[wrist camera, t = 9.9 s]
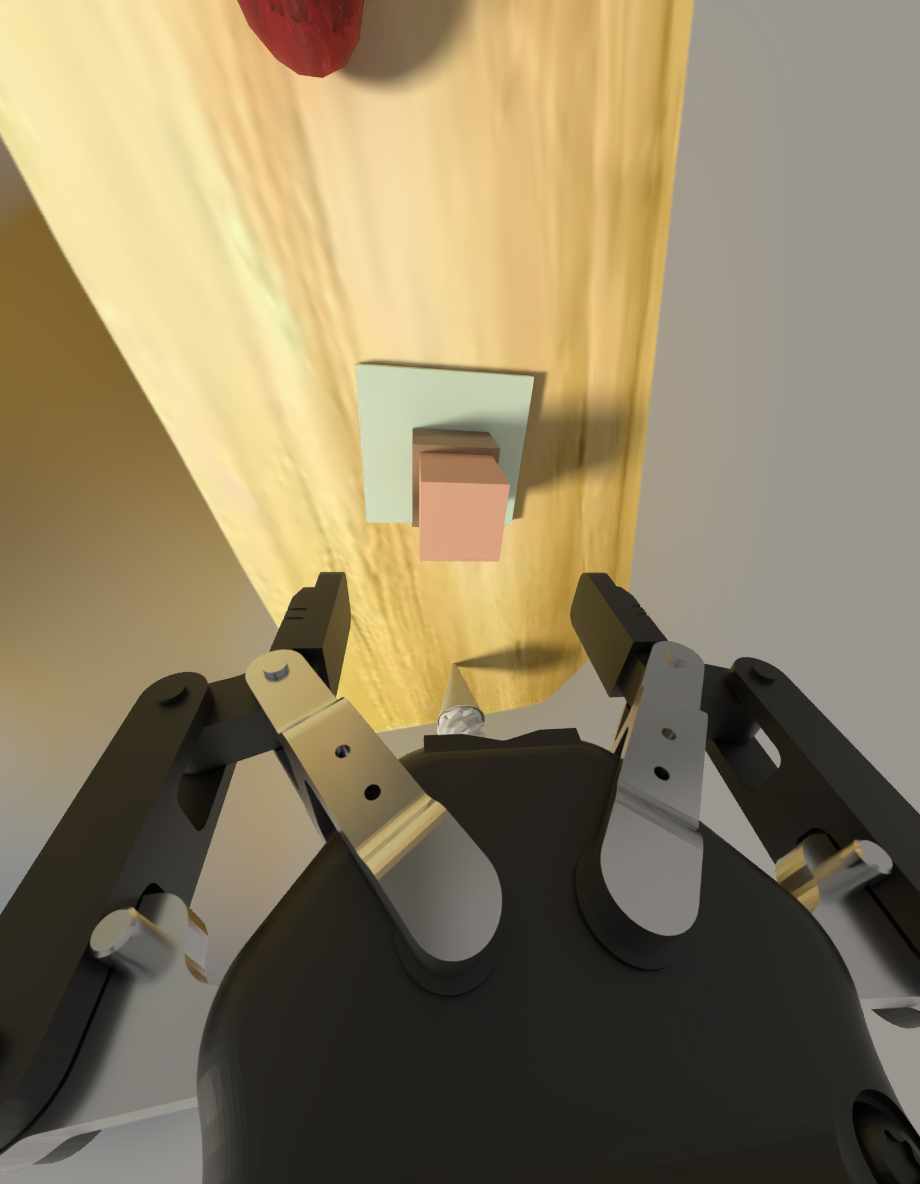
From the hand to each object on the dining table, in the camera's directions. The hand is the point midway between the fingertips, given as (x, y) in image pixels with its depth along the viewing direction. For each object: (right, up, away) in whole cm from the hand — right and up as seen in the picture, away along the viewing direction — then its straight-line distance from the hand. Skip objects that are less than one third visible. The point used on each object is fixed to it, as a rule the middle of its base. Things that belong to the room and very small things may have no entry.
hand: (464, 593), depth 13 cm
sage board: (-2, +12, +19) cm, 22 cm away
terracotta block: (-1, +7, +15) cm, 16 cm away
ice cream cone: (-1, -9, +34) cm, 35 cm away
